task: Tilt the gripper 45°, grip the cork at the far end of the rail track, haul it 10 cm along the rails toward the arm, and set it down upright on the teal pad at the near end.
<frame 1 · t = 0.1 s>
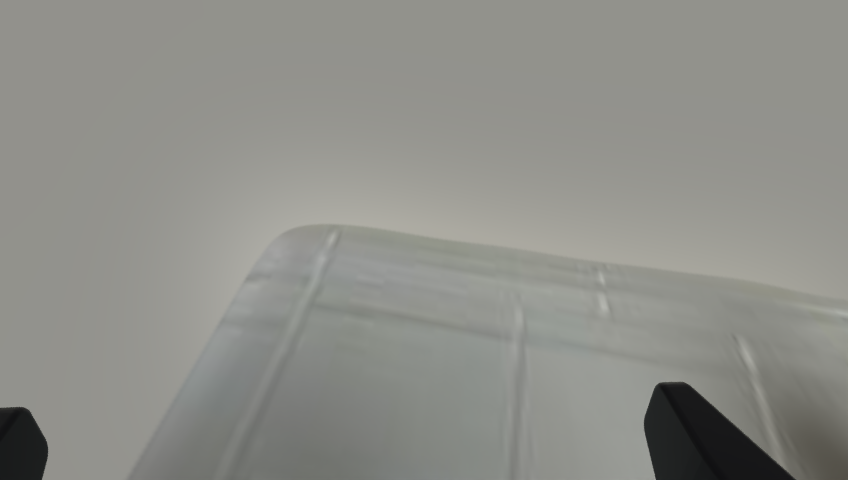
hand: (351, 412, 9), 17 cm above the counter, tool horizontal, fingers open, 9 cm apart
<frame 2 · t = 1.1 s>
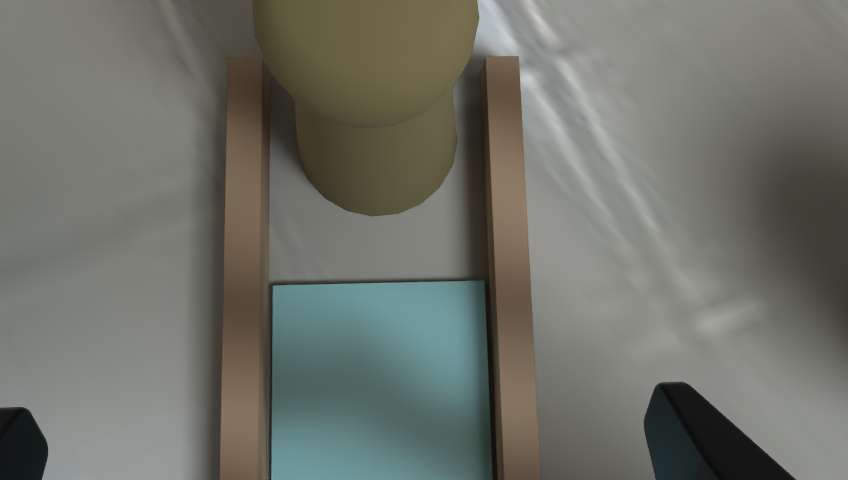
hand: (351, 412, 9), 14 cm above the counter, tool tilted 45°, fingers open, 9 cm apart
rail track: (379, 283, 23), on the counter
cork: (377, 139, 24), on the counter
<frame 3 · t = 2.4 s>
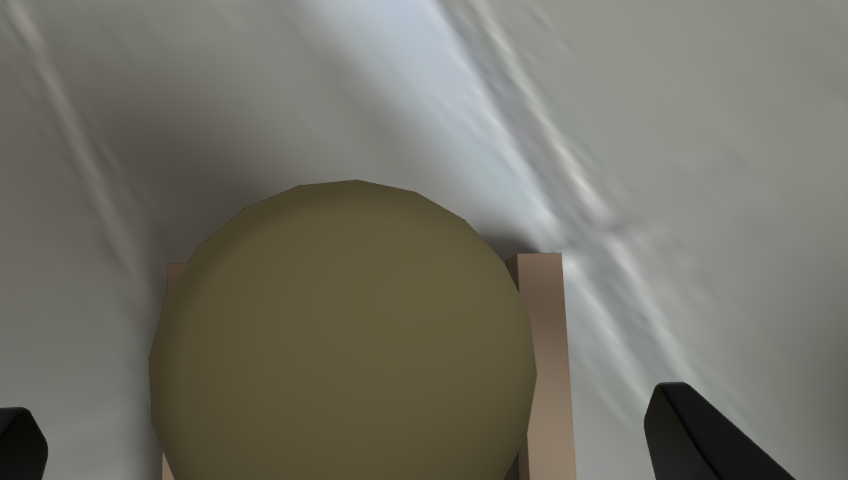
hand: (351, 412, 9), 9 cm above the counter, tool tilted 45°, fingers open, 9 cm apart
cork: (371, 352, 18), on the counter
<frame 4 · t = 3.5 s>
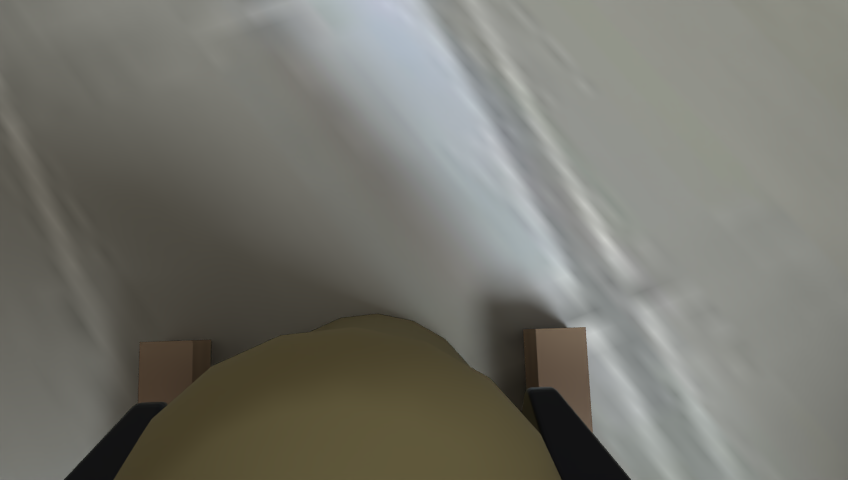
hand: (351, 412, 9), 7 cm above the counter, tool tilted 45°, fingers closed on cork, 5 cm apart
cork: (371, 433, 16), on the counter, touching gripper
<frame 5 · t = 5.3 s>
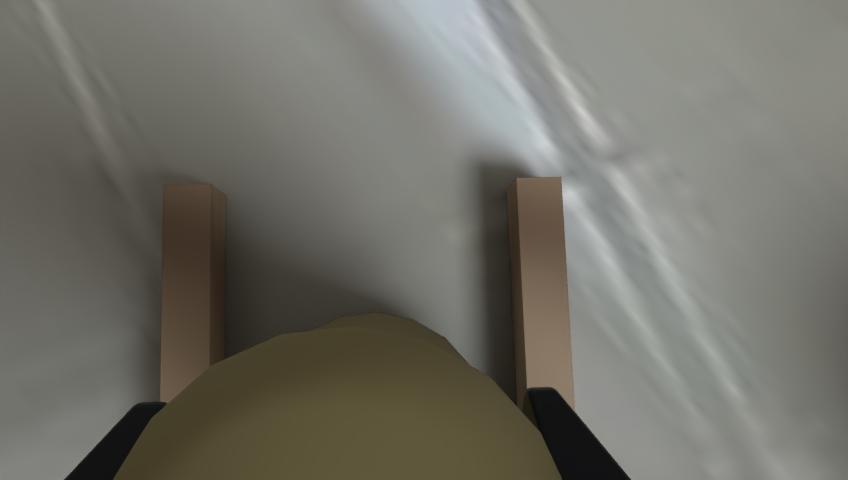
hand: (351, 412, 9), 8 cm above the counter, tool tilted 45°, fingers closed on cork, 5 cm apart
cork: (371, 431, 16), point 1 cm above the counter, touching gripper
when the fingers open (8 cm above the counter, at t = 7.1 s): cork stays where it is, resting on rail track.
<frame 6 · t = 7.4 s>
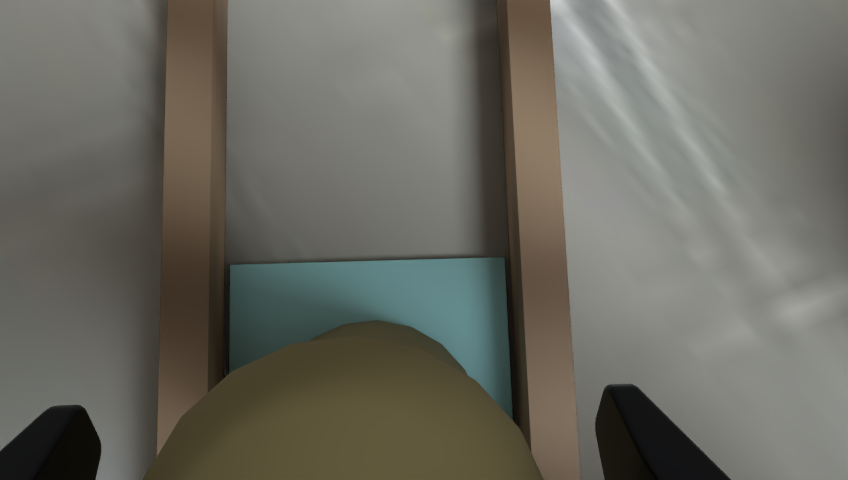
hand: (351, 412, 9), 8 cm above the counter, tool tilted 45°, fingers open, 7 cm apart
rail track: (369, 261, 18), on the counter
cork: (372, 432, 17), resting on rail track
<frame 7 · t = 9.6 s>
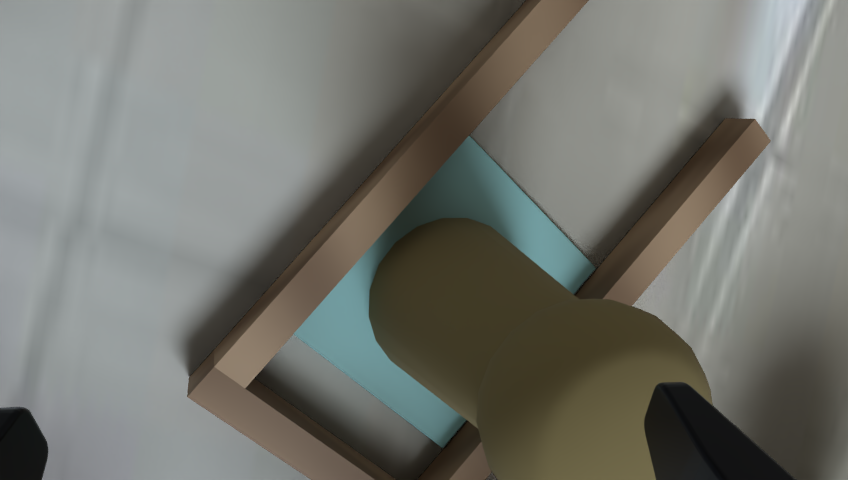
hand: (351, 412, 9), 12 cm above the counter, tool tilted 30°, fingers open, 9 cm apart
rail track: (531, 202, 24), on the counter
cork: (448, 298, 23), resting on rail track
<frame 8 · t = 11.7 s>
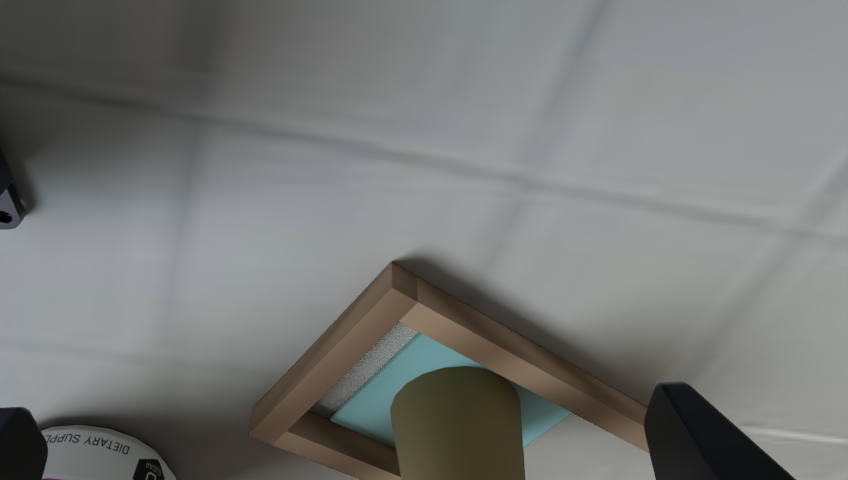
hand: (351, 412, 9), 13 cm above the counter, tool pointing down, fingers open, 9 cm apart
supplement can: (95, 466, 31), on the counter
rail track: (526, 441, 32), on the counter
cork: (454, 407, 30), resting on rail track
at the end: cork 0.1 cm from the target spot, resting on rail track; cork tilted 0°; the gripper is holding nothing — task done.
